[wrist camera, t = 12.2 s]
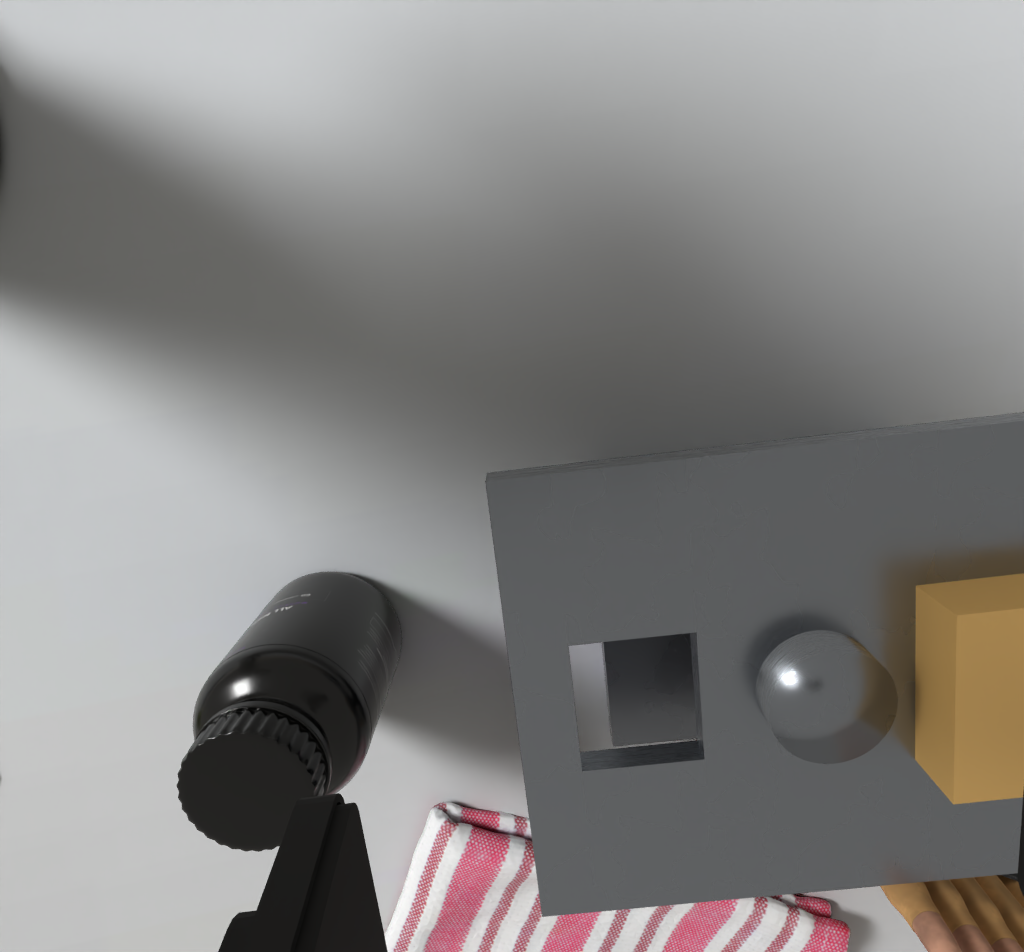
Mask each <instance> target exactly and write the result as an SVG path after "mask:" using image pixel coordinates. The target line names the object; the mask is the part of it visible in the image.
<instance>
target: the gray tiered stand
mask: <svg viewBox="0 0 1024 952" xmlns="http://www.w3.org/2000/svg"><path fill="white" fill-rule="evenodd" d="M485 482H486V489H487V497H488V505H489V513H490V520H491V528H492V536H493V543H494V551H495V559H496V566H497V574H498V582H499V590H500V597H501V605H502V613H503V620H504V628H505V636H506V643H507V651H508V659H509V666H510V674H511V682H512V690H513V697H514V705H515V713H516V720H517V728H518V736H519V743H520V751H521V759H522V767H523V774H524V782H525V790H526V797H527V805H528V813H529V820H530V828H531V836H532V844H533V851H534V859H535V867H536V874H537V882H538V890H539V897H540V905H541V913H542V917H547V916H558V915H569V914H580V913H591V912H602V911H612V910H623V909H634V908H645V907H656V906H667V905H678V904H689V903H699V902H710V901H721V900H732V899H743V898H754V897H765V896H775V895H786V894H797V893H808V892H819V891H830V890H841V889H851V888H862V887H873V886H884V885H895V884H906V883H917V882H927V881H938V880H949V879H960V878H971V877H982V876H993V875H1004V874H1014V873H1018V862H1019V848H1020V833H1021V819H1022V805H1023V797H1021V798H1011V799H1002V800H992V801H982V802H973V803H963V804H953V803H952V802H951V801H950V800H949V799H948V798H947V796H946V795H945V794H944V793H943V792H942V791H941V789H940V788H939V787H938V786H937V785H936V784H935V782H934V781H933V780H932V779H931V778H930V777H929V775H928V774H927V773H926V772H925V771H924V769H923V768H922V767H921V766H920V765H919V764H918V762H917V761H916V760H915V655H916V586H917V585H925V584H934V583H943V582H952V581H961V580H969V579H978V578H987V577H996V576H1005V575H1013V574H1022V573H1024V412H1022V413H1013V414H1005V415H996V416H987V417H978V418H969V419H960V420H951V421H942V422H934V423H925V424H916V425H907V426H898V427H889V428H880V429H872V430H863V431H854V432H845V433H836V434H827V435H818V436H809V437H801V438H792V439H783V440H774V441H765V442H756V443H747V444H739V445H730V446H721V447H712V448H703V449H694V450H685V451H676V452H668V453H659V454H650V455H641V456H632V457H623V458H614V459H605V460H597V461H588V462H579V463H570V464H561V465H552V466H543V467H535V468H526V469H517V470H508V471H499V472H490V473H487V475H486V481H485ZM599 642H602V651H603V661H604V672H605V682H606V692H607V703H608V713H609V723H610V733H611V738H612V742H613V746H623V745H633V744H643V743H653V742H663V741H673V740H683V739H693V738H697V741H689V742H679V743H668V744H658V745H648V746H638V747H628V748H618V749H608V750H598V751H588V752H580V748H579V739H578V730H577V721H576V712H575V702H574V693H573V684H572V675H571V665H570V656H569V647H568V646H571V645H580V644H590V643H599Z"/></svg>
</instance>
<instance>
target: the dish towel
mask: <svg viewBox="0 0 1024 952" xmlns="http://www.w3.org/2000/svg"><path fill="white" fill-rule="evenodd" d="M831 914H832V912H831V905H830V903H829V902H828V901H826V900H823V899H818V898H813V897H798V896H795V895H794V894H786V895H775V896H765V897H754V898H743V899H732V900H721V901H710V902H699V903H689V904H678V905H667V906H656V907H645V908H634V909H623V910H612V911H602V912H591V913H580V914H569V915H558V916H547V917H542V913H541V905H540V897H539V890H538V882H537V874H536V867H535V859H534V851H533V844H532V836H531V828H530V820H529V818H526V817H519V816H515V815H512V814H507V813H504V812H501V811H499V812H494V811H487V810H478V809H471V808H466V807H462V806H460V805H456V804H454V803H452V802H444V803H439V804H437V805H435V806H434V807H433V808H432V810H431V811H430V813H429V816H428V820H427V822H426V825H425V828H424V831H423V833H422V836H421V837H420V839H419V841H418V844H417V847H416V849H415V851H414V855H413V859H412V862H411V865H410V868H409V872H408V875H407V878H406V881H405V883H404V887H403V891H402V893H401V896H400V898H399V900H398V903H397V906H396V909H395V912H394V914H393V917H392V920H391V923H390V924H389V926H388V929H387V931H386V933H385V941H386V946H387V951H388V952H847V950H848V945H849V938H850V935H851V932H850V929H849V927H848V925H847V924H846V923H845V922H843V921H840V920H836V919H832V918H830V917H831Z"/></svg>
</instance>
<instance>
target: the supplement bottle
mask: <svg viewBox="0 0 1024 952" xmlns="http://www.w3.org/2000/svg"><path fill="white" fill-rule="evenodd" d="M401 645H402V635H401V628H400V624H399V621H398V617H397V615H396V613H395V611H394V609H393V607H392V606H391V604H390V603H389V601H388V600H387V599H386V597H385V596H384V595H383V594H382V593H381V592H380V591H379V590H377V589H376V588H375V587H374V586H372V585H371V584H369V583H368V582H366V581H364V580H362V579H360V578H358V577H355V576H352V575H349V574H345V573H340V572H318V573H312V574H308V575H305V576H302V577H300V578H298V579H296V580H294V581H292V582H290V583H289V584H288V585H286V586H285V587H284V588H283V589H281V590H280V591H279V592H278V593H277V594H276V595H275V597H274V598H273V599H272V600H271V601H270V602H269V603H268V605H267V606H266V607H265V608H264V609H263V611H262V612H261V613H260V614H259V616H258V617H257V618H256V619H255V621H254V622H253V623H252V624H251V626H250V627H249V628H248V629H247V630H246V632H245V633H244V634H243V635H242V637H241V638H240V639H239V640H238V642H237V643H236V644H235V645H234V647H233V648H232V649H231V650H230V651H229V653H228V654H227V655H226V656H225V658H224V659H223V660H222V661H221V663H220V664H219V665H218V666H217V668H216V669H215V670H214V671H213V673H212V674H211V675H210V677H209V678H208V680H207V681H206V683H205V684H204V686H203V688H202V689H201V691H200V693H199V696H198V698H197V701H196V705H195V709H194V715H193V734H194V740H195V741H194V743H193V745H192V746H191V747H190V749H189V751H188V753H187V754H186V755H185V757H184V758H183V760H182V763H181V769H180V770H179V772H178V778H179V781H178V784H177V788H178V790H179V795H178V798H179V800H180V801H181V803H182V810H183V811H184V812H185V813H186V814H187V816H188V819H189V821H191V822H192V823H193V824H195V826H196V828H197V830H199V831H201V832H203V833H204V834H205V835H206V836H207V838H209V839H213V840H215V841H216V842H217V843H218V844H220V845H226V846H228V847H230V848H231V849H241V850H243V851H250V850H253V851H258V852H259V851H262V850H264V849H268V850H272V849H274V848H275V847H277V846H280V845H281V842H282V839H283V836H284V834H285V831H286V828H287V825H288V823H289V820H290V817H291V814H292V812H293V809H294V806H295V804H296V802H297V800H299V799H300V798H306V797H314V796H322V795H330V794H335V793H337V792H338V791H339V790H341V789H342V788H343V787H344V786H346V785H347V784H348V783H349V782H350V781H351V779H352V778H353V777H354V776H355V774H356V773H357V772H358V770H359V768H360V767H361V765H362V763H363V761H364V759H365V756H366V754H367V751H368V749H369V746H370V743H371V740H372V737H373V734H374V731H375V728H376V725H377V723H378V720H379V717H380V714H381V711H382V708H383V705H384V702H385V699H386V696H387V693H388V690H389V687H390V684H391V681H392V679H393V676H394V673H395V670H396V667H397V663H398V660H399V656H400V652H401Z"/></svg>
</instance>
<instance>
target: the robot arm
mask: <svg viewBox="0 0 1024 952" xmlns="http://www.w3.org/2000/svg"><path fill="white" fill-rule="evenodd" d="M1018 882H1019V886H1020V889H1021V892H1022V894H1023V896H1024V791H1023V805H1022V819H1021V833H1020V848H1019V862H1018ZM218 952H388V951H387V946H386V941H385V936H384V931H383V927H382V922H381V917H380V912H379V907H378V902H377V897H376V892H375V888H374V883H373V878H372V873H371V868H370V863H369V858H368V854H367V849H366V844H365V839H364V834H363V829H362V824H361V819H360V815H359V810H358V807H357V805H356V803H348V804H345V803H344V799H343V797H342V795H341V794H339V793H338V794H330V795H322V796H314V797H306V798H300V799H299V800H297V802H296V804H295V806H294V809H293V812H292V814H291V817H290V820H289V823H288V825H287V828H286V831H285V834H284V836H283V839H282V842H281V845H280V847H279V850H278V853H277V856H276V858H275V861H274V864H273V867H272V869H271V872H270V875H269V878H268V880H267V883H266V886H265V889H264V891H263V894H262V897H261V900H260V902H259V905H258V908H257V911H250V912H242V913H238V914H237V915H236V916H235V917H234V918H233V919H232V921H231V923H230V925H229V927H228V929H227V931H226V934H225V936H224V939H223V941H222V944H221V946H220V949H219V951H218Z"/></svg>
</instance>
